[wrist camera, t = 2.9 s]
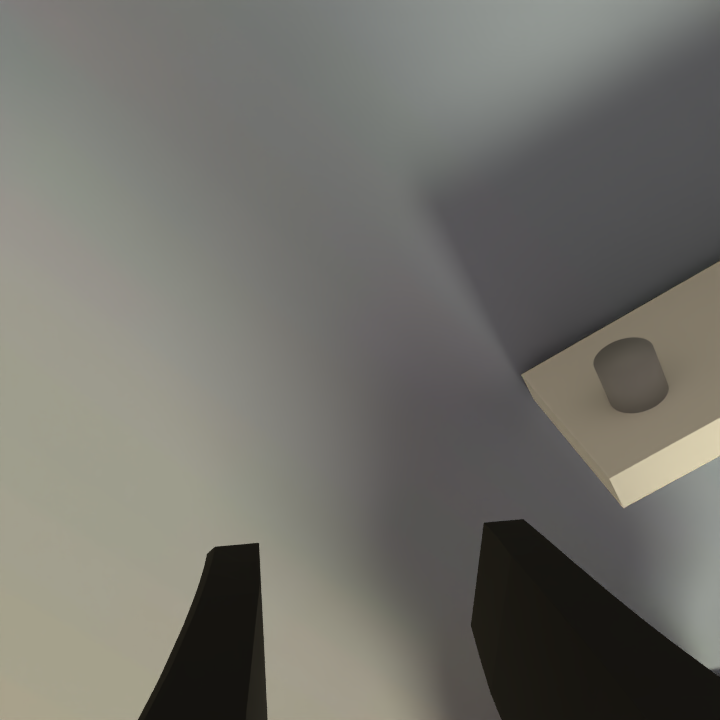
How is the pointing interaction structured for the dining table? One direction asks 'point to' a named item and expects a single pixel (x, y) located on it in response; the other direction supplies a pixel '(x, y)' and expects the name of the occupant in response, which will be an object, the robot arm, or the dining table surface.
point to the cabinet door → (642, 390)
